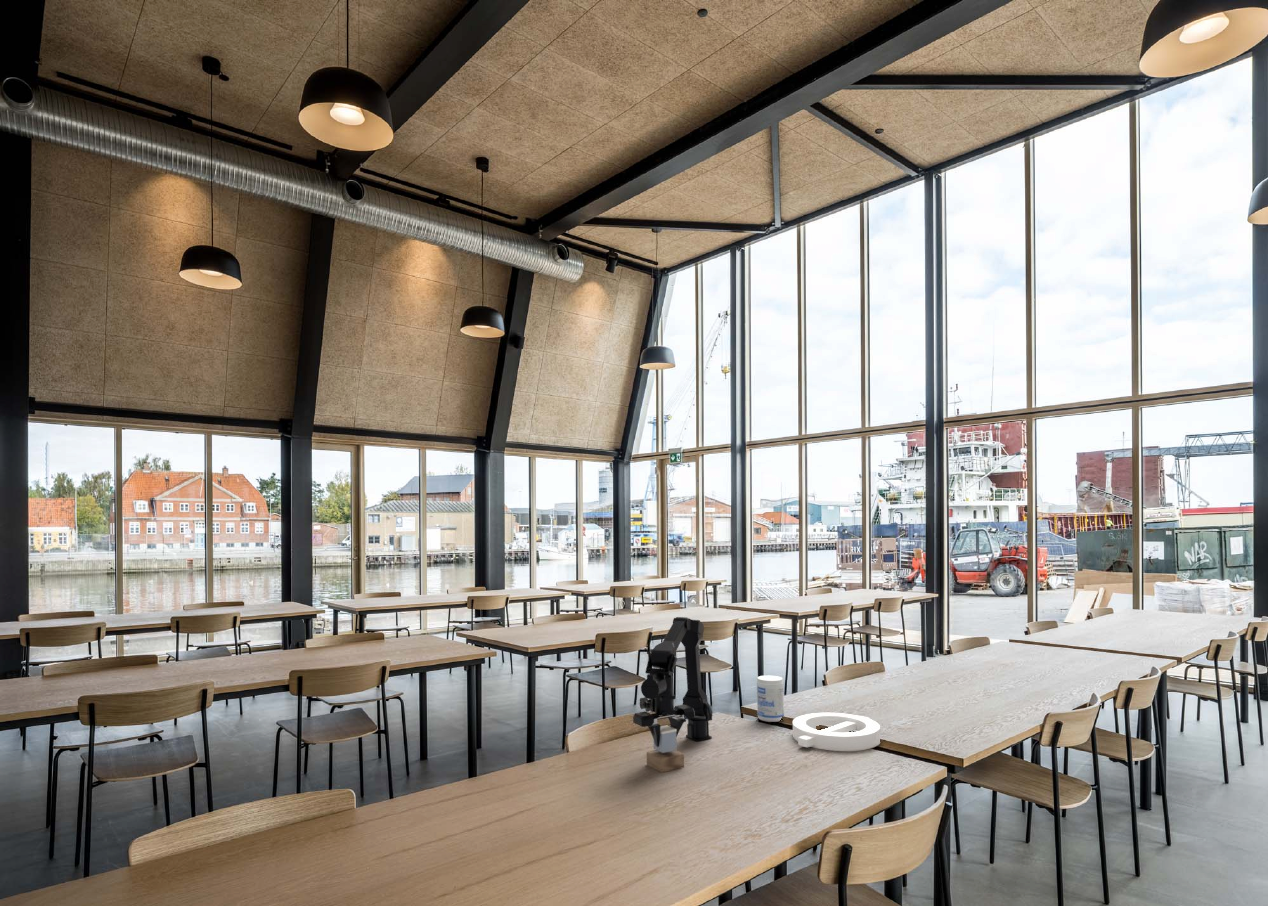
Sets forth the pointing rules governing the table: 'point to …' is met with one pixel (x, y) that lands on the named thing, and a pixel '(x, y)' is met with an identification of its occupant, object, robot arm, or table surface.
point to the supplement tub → (770, 698)
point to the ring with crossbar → (836, 732)
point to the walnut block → (665, 760)
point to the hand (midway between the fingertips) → (664, 744)
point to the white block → (667, 739)
